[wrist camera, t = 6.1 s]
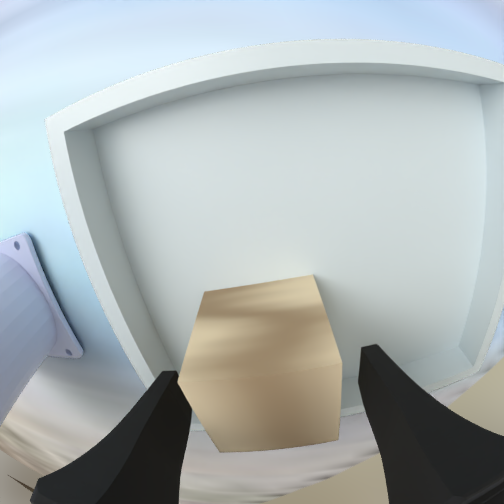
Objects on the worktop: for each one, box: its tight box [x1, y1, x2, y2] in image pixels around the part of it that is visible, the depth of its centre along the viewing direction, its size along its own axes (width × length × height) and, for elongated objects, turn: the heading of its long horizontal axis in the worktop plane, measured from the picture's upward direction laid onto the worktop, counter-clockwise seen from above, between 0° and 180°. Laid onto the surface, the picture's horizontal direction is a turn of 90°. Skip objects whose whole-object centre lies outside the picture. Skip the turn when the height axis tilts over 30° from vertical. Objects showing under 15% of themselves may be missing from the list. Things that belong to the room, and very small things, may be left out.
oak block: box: [177, 274, 342, 452], centre depth 10 cm, size 4×4×5 cm
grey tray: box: [45, 39, 504, 431], centre depth 11 cm, size 18×16×2 cm
